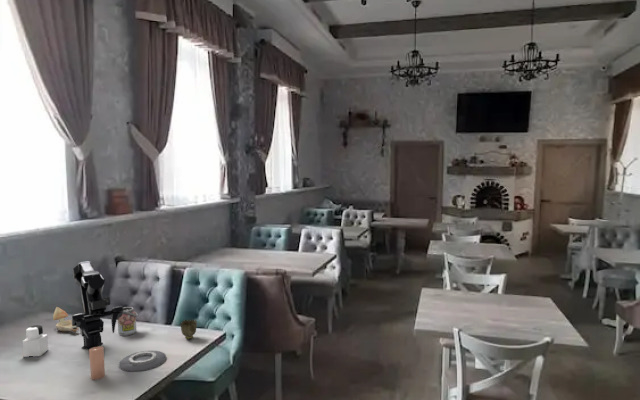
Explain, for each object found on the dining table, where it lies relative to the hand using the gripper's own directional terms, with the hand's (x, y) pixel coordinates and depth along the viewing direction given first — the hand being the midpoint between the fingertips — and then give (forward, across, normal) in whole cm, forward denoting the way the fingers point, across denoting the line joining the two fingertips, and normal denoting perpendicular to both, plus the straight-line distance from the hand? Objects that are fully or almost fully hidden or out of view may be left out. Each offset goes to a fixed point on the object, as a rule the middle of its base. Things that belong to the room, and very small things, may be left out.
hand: (101, 335), depth 179 cm
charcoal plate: (+13, +14, +5) cm, 20 cm away
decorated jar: (-11, +17, +34) cm, 39 cm away
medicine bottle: (-11, -21, +34) cm, 42 cm away
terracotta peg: (+15, -3, +2) cm, 16 cm away
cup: (+6, +38, +14) cm, 41 cm away
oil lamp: (-26, -7, +53) cm, 59 cm away
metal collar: (+13, +14, +5) cm, 20 cm away
